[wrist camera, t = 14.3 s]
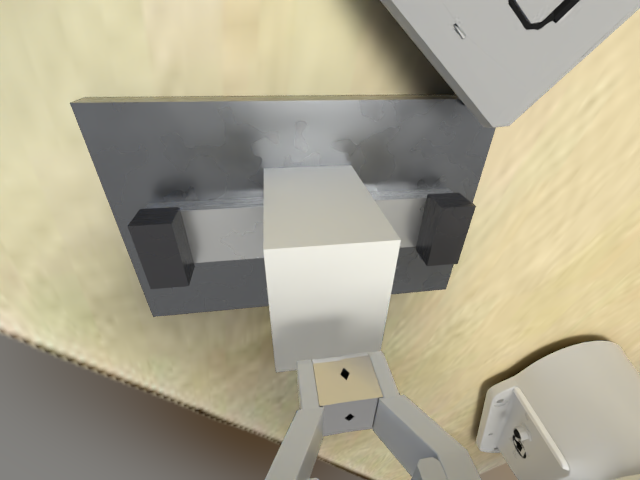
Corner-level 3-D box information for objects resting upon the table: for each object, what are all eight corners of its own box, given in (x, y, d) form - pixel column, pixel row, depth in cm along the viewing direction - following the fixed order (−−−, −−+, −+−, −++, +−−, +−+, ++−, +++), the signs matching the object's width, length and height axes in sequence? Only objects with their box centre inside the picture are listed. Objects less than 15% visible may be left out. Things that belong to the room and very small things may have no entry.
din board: (437, 277, 26) (465, 317, 23) (159, 301, 23) (139, 352, 20) (488, 94, 19) (544, 109, 15) (85, 97, 16) (29, 116, 12)
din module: (343, 270, 22) (376, 370, 16) (273, 276, 22) (276, 382, 15) (351, 165, 18) (401, 240, 12) (263, 168, 18) (263, 249, 11)
